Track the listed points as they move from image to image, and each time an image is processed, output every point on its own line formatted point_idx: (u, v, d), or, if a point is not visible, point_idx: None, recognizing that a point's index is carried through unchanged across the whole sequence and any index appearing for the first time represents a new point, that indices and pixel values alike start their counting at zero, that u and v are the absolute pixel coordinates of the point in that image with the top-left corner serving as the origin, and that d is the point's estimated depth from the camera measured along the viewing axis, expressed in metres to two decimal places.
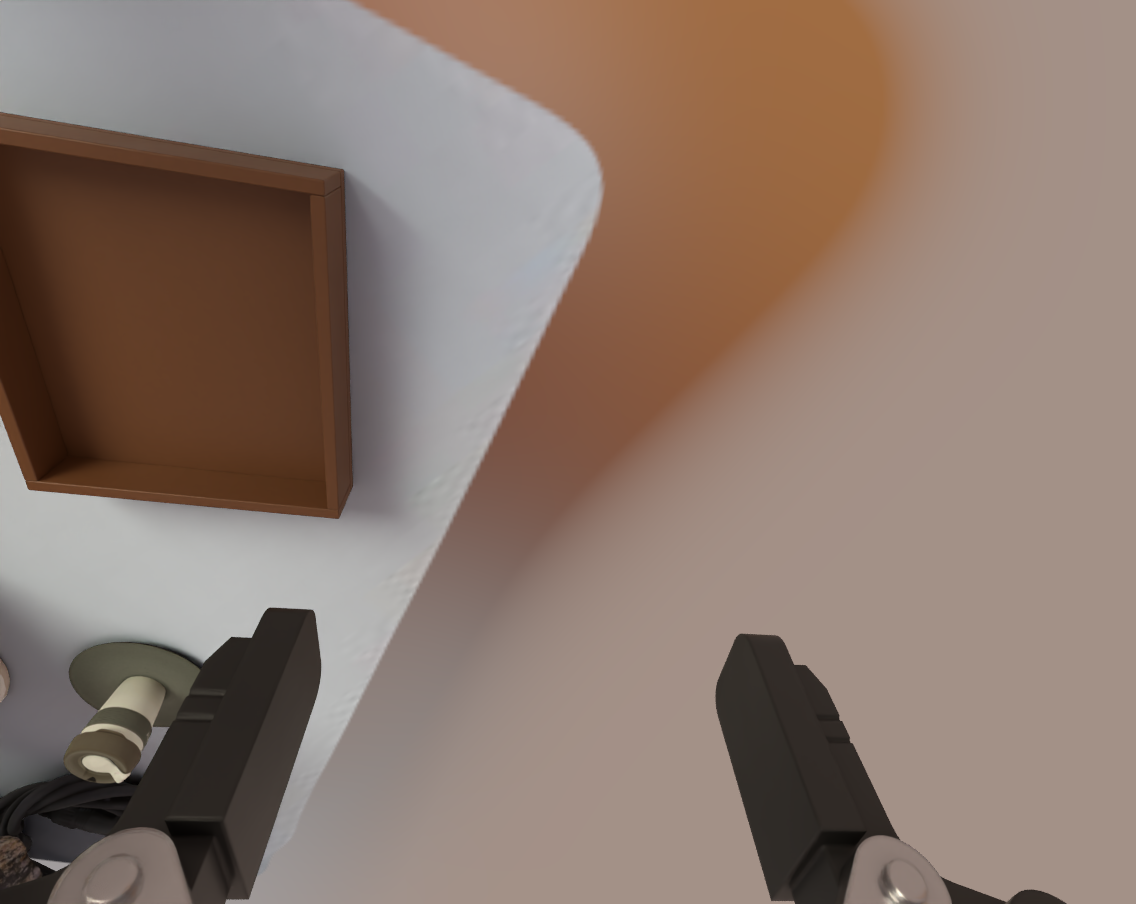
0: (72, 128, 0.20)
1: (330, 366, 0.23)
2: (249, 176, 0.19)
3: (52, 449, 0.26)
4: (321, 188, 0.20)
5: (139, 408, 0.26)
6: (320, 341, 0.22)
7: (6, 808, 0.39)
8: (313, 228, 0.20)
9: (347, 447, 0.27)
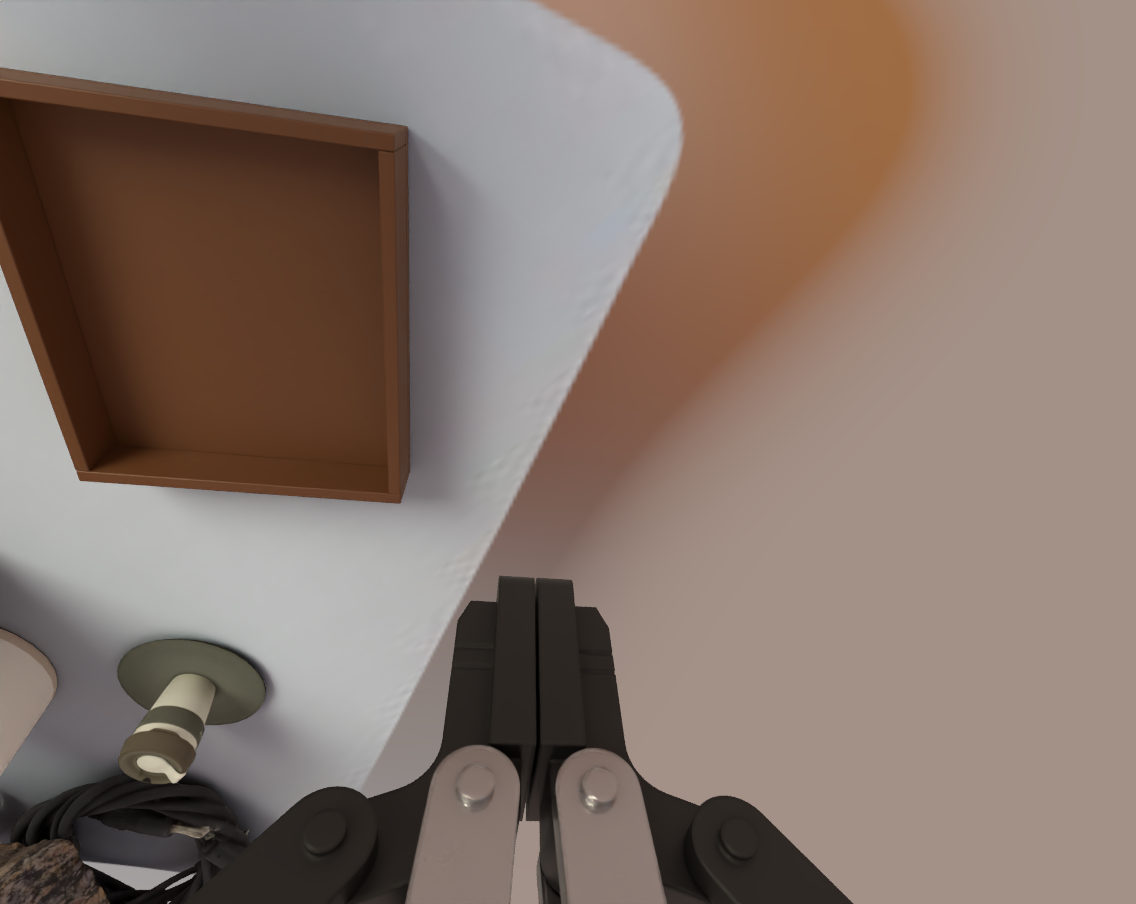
0: (122, 88, 0.18)
1: (396, 340, 0.22)
2: (314, 132, 0.18)
3: (102, 438, 0.24)
4: (391, 143, 0.18)
5: (191, 392, 0.24)
6: (386, 312, 0.21)
7: (55, 811, 0.38)
8: (381, 188, 0.19)
9: (407, 428, 0.26)
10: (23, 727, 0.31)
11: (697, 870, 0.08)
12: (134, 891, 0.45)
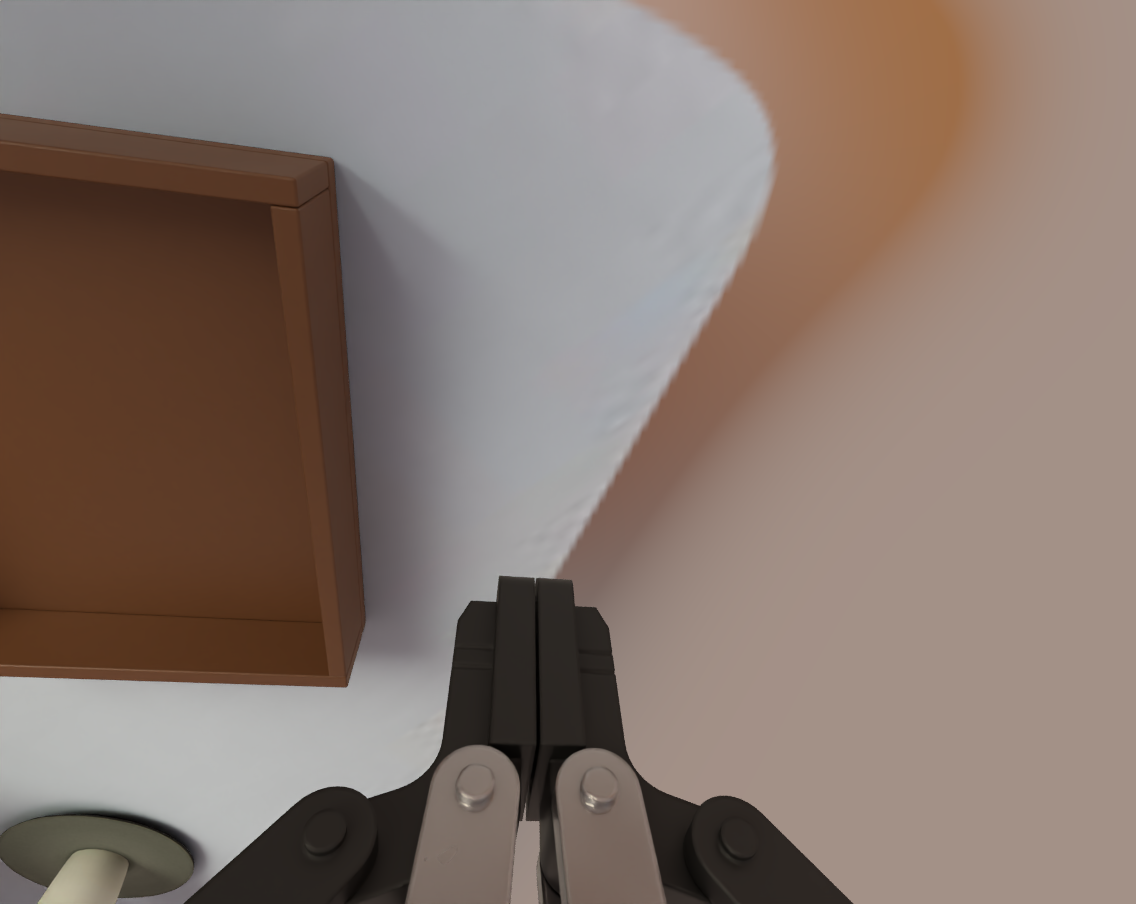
0: None
1: (324, 486, 0.14)
2: (154, 175, 0.10)
3: None
4: (291, 193, 0.10)
5: (37, 539, 0.17)
6: (305, 450, 0.13)
7: None
8: (281, 266, 0.11)
9: (356, 580, 0.18)
10: None
11: (697, 870, 0.08)
12: None
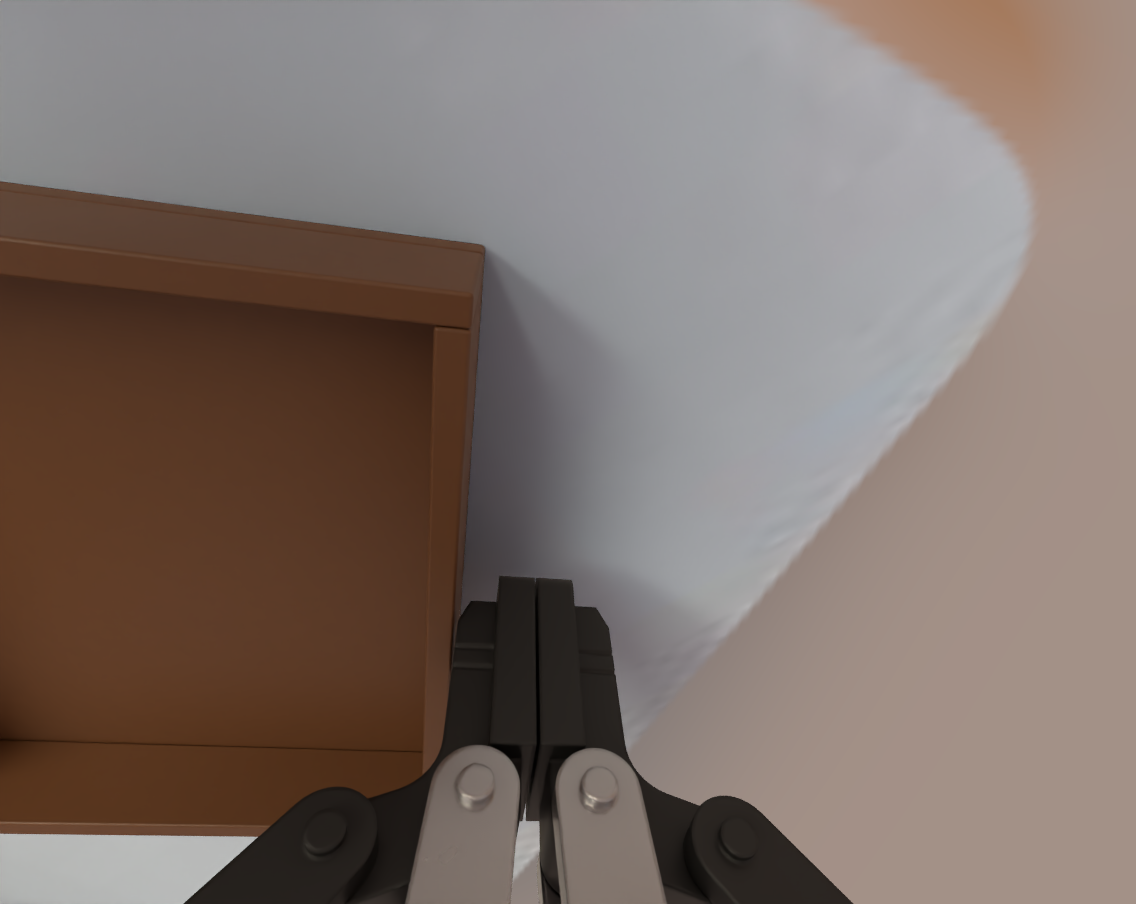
0: None
1: (449, 640, 0.11)
2: (286, 291, 0.08)
3: None
4: (465, 313, 0.08)
5: (79, 670, 0.14)
6: (432, 602, 0.11)
7: None
8: (436, 398, 0.08)
9: None
10: None
11: (697, 870, 0.08)
12: None
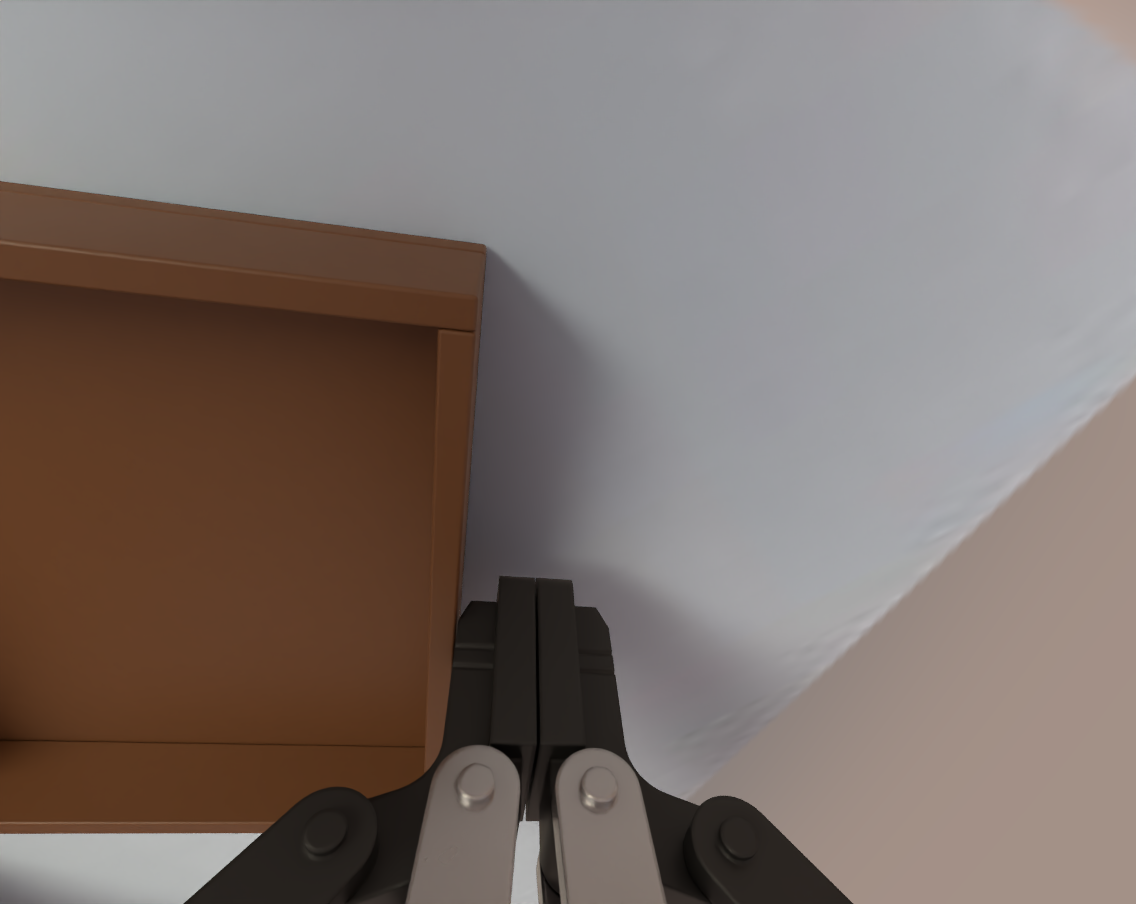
0: None
1: (452, 639, 0.11)
2: (289, 294, 0.07)
3: None
4: (470, 316, 0.08)
5: (77, 670, 0.14)
6: (435, 601, 0.11)
7: None
8: (440, 401, 0.08)
9: None
10: None
11: (697, 870, 0.08)
12: None
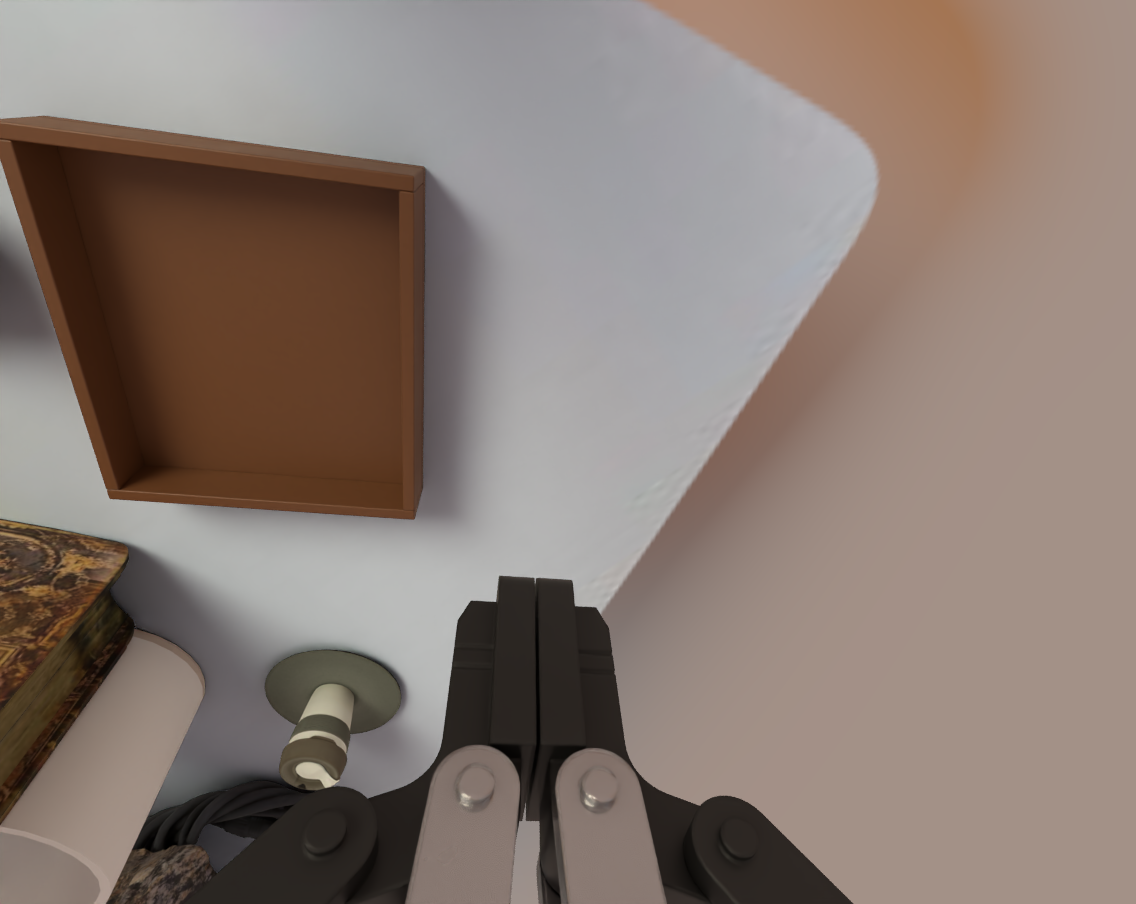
0: (162, 134, 0.20)
1: (412, 364, 0.23)
2: (340, 174, 0.19)
3: (131, 458, 0.26)
4: (411, 184, 0.20)
5: (216, 414, 0.26)
6: (403, 339, 0.22)
7: (182, 818, 0.39)
8: (401, 225, 0.20)
9: (420, 447, 0.27)
10: (183, 733, 0.33)
11: (697, 870, 0.08)
12: None
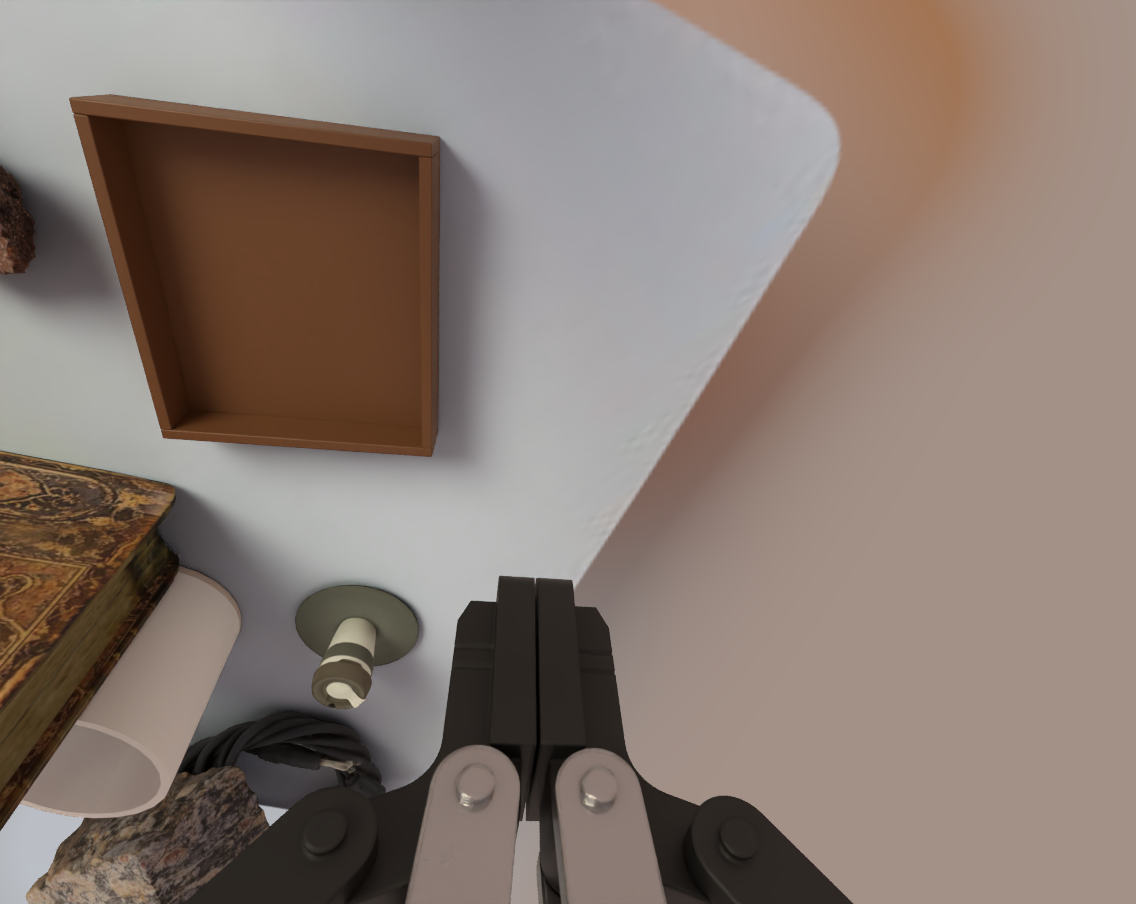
0: (212, 109, 0.23)
1: (430, 313, 0.26)
2: (368, 142, 0.22)
3: (180, 402, 0.29)
4: (429, 150, 0.23)
5: (255, 363, 0.29)
6: (422, 290, 0.25)
7: (220, 745, 0.43)
8: (421, 187, 0.23)
9: (436, 392, 0.30)
10: (224, 659, 0.36)
11: (697, 870, 0.08)
12: None
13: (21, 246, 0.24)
